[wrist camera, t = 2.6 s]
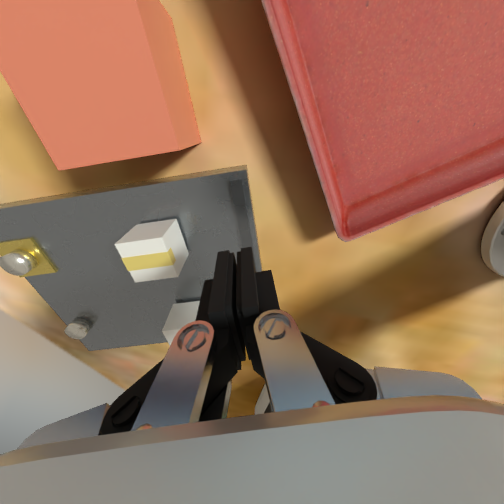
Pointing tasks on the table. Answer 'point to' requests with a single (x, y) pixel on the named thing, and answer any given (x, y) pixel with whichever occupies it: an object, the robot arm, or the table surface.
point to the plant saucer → (395, 101)
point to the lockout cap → (97, 78)
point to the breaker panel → (109, 260)
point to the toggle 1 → (153, 250)
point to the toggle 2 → (179, 318)
